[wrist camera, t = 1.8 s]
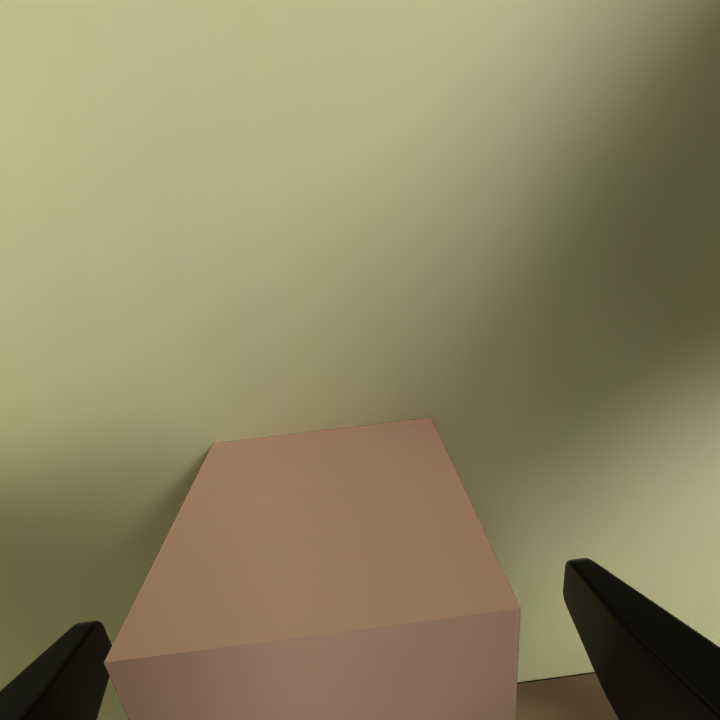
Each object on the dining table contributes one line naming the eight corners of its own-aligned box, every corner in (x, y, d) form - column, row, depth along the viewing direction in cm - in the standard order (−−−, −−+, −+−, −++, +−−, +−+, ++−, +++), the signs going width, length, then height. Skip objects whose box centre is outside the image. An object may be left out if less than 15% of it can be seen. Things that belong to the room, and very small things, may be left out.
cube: (430, 416, 10) (520, 609, 5) (437, 578, 12) (510, 833, 7) (214, 441, 10) (104, 662, 5) (254, 602, 11) (200, 878, 7)
